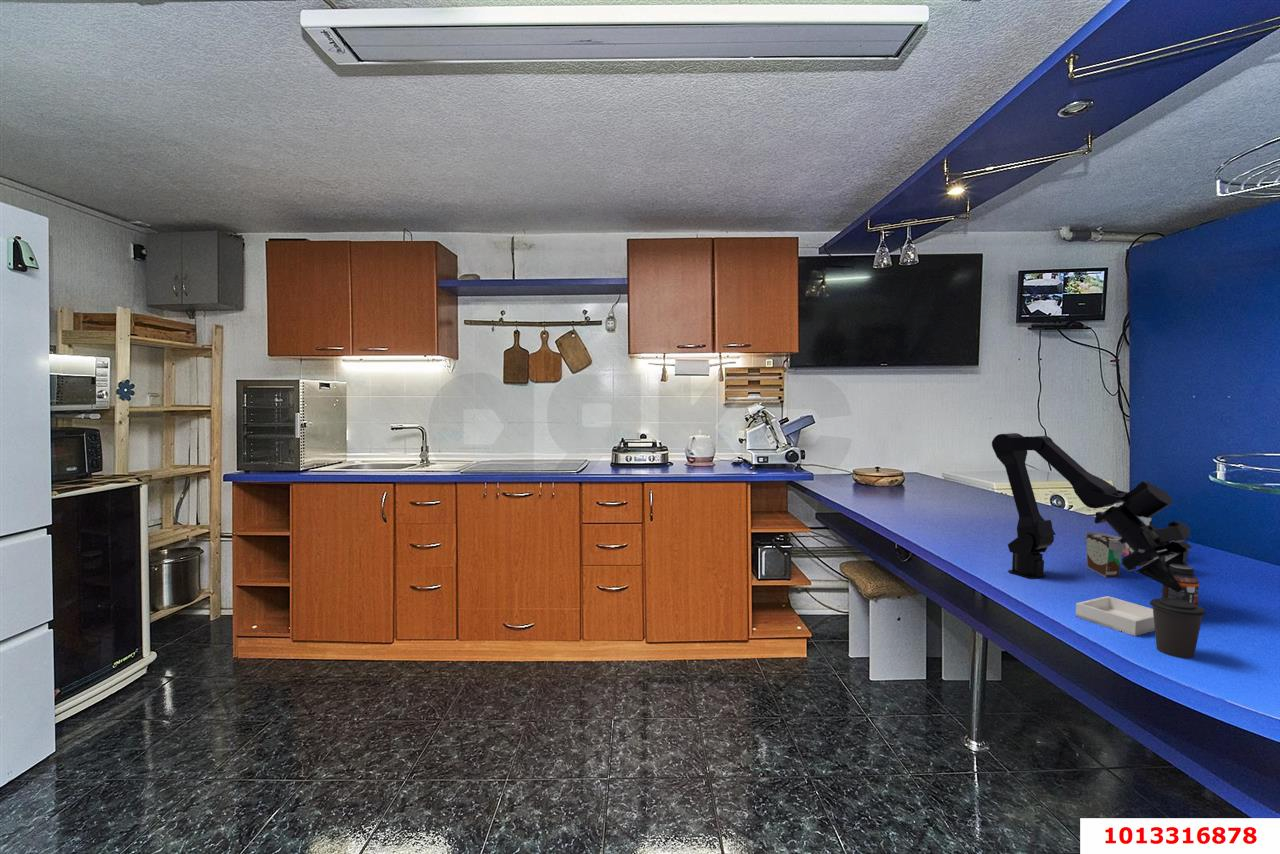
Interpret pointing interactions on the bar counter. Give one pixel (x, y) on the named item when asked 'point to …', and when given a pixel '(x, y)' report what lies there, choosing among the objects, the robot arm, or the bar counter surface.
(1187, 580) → the supplement bottle
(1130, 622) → the tray
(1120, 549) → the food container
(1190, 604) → the coffee cup
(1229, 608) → the bar counter surface
